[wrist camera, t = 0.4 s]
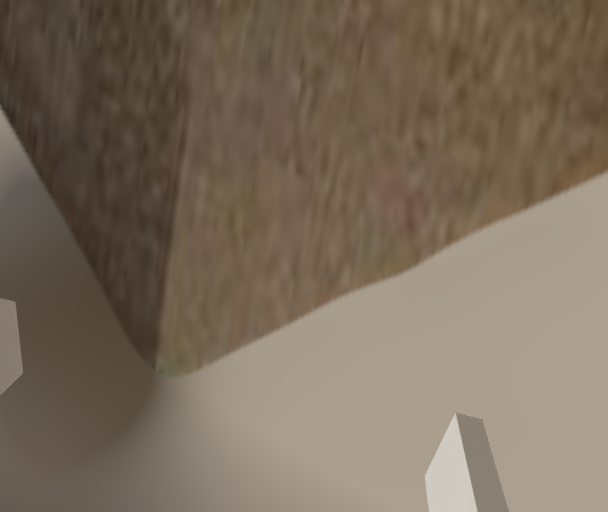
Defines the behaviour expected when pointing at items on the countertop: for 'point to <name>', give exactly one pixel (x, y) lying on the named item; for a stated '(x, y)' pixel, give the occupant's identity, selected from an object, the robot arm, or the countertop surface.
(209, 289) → the countertop surface
